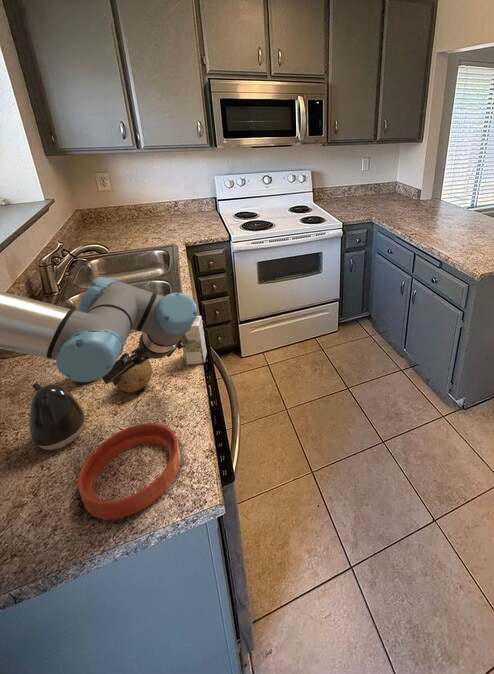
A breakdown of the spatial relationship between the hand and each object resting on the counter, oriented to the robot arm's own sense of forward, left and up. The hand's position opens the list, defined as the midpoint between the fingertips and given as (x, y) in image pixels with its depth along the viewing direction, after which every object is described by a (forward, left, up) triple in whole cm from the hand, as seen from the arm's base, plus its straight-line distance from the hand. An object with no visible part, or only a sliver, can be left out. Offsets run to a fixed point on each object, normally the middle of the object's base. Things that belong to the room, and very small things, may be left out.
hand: (141, 365), depth 92 cm
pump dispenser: (-18, -5, -12) cm, 22 cm away
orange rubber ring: (-1, -22, -11) cm, 25 cm away
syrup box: (+13, +13, -12) cm, 21 cm away
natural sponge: (-3, +6, -12) cm, 13 cm away
